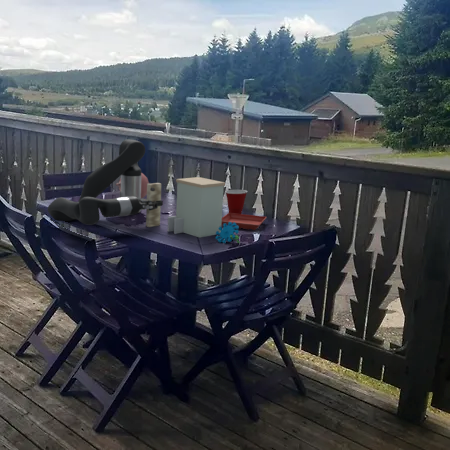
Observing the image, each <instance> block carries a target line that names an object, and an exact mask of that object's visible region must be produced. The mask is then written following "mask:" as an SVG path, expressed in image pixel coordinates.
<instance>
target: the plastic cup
mask: <svg viewBox="0 0 450 450" xmlns="http://www.w3.org/2000/svg"><path fill="white" fill-rule="evenodd" d="M224 193H225V195H226V201H227V209H228V213H236V214H243V210H244V205H245V201H246V196H247V193H248V190H246V189H244V190H243V189H228V190H225V191H224Z"/></svg>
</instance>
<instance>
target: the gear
mask: <svg viewBox="0 0 450 450" xmlns="http://www.w3.org/2000/svg"><path fill="white" fill-rule="evenodd" d="M230 225H231V226H230ZM233 226H235V227H233ZM218 229H219V230H221V232H220V233H219V232H218V231H217V232H216V236H215V240H217V242H218V243H222V244H226V243H227V242H228V243H231V242H232V240H233V241H235V242H236V243H237V244H238V243H239V244H241V241H239V239H240V237H239V235H238V234H239V233H240V231H239V229H240V228H239V226H238V225H237V226H236V223H235V222H234V223H233V224H232V222H228V225H227V224H226V223H224V224H223V226H222V225H221V226H220V227H219V228H218ZM234 233H235V234H236V235H235V234H234Z"/></svg>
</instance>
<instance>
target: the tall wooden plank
mask: <svg viewBox="0 0 450 450" xmlns="http://www.w3.org/2000/svg"><path fill="white" fill-rule="evenodd" d="M146 199H147V200H150V201H160V200H161V201H162V183H160V182H153V183H149V184H147V194H146ZM148 204H149V202H148ZM161 207H162V206H158V208H157V209H153V210H149V209H145V210H146V211H145V213H146V214H145V216H146V217H145V227H148V228H152V227H158V226H159V227H160V226H161Z"/></svg>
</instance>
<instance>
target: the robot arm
mask: <svg viewBox="0 0 450 450" xmlns="http://www.w3.org/2000/svg"><path fill="white" fill-rule="evenodd" d="M145 154H146V146H145V144H144V143H143V142H142V141H140V140H139V141H138V140H135V139H129V138H127V139H124V140H123V141H122V142H121V143H120V144H119V149H118V156H117V157H116V158H114V159H112V160H110V161H108V162H105V163H103V164H102V165H100V166H98V167H97V168H96V169H95V170H93V171H92V172H91V173H90V174H89V175H87V177H86V179H85V180H84V183H83V187H82V190H81V192H80V193H81V194H80V196H79V197H80V198H79V199H78V201H73V200H70V199H67V198H65V197H58V198H56V199H54V200H52V201H51V203H50V204H49V205H48V207H47V212H48V214H49V215H50V216H51V217H52V218H53V219H54V221H58V222H71V221H74V220H76V221H77V220H78V221H79V222H80V223H81V224H83V225H88V226H94V225H96V224H97V223H98V222H99V221H100V214H101V215H102V217H103V218H113V217H114V218H115V217H126V216H133V215H137V214H138V213H141V211H145V210H146V209H149V210H153V209H157V208H158V206H161V207H163V205H164V202H163V200H162V199H161V200H160V201H150V200H147V198H145V197H144V198H141V173H142V168H140V167H139V164H138V162H140V161H141V160H142V158H143V157H145ZM119 177H120V179H121V191H120V190H119V197H115V198H107V199H106V198H105V199H102V198H98V196H99V195H101V194H102V193H103V192H105V190H107V188H109V187H110V186H111V185H112V184H113V183H114V182H115V181H116V180H117V179H118V178H119ZM148 202H149V204H148Z"/></svg>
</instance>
